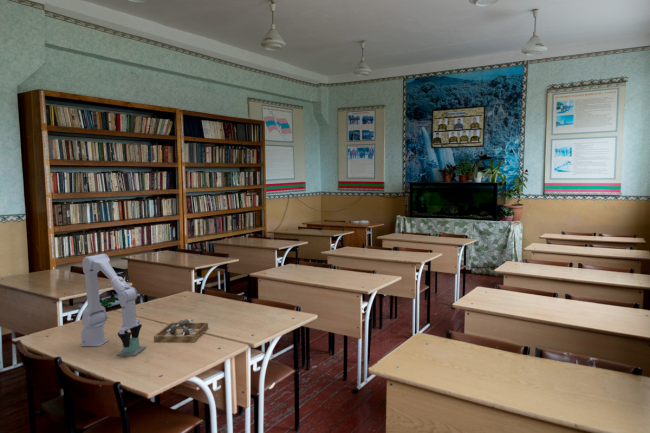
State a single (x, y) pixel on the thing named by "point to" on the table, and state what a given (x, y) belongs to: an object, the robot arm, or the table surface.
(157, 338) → the display frame
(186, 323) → the molecule model
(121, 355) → the mat
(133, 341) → the cube
